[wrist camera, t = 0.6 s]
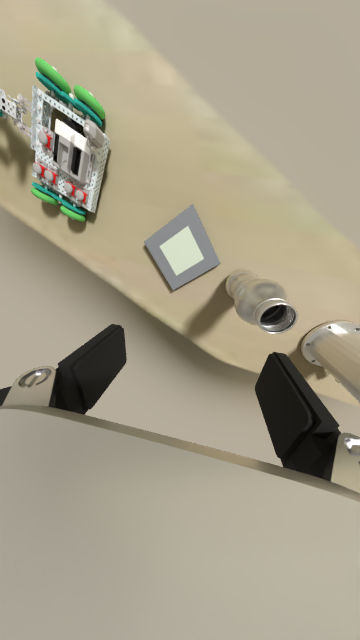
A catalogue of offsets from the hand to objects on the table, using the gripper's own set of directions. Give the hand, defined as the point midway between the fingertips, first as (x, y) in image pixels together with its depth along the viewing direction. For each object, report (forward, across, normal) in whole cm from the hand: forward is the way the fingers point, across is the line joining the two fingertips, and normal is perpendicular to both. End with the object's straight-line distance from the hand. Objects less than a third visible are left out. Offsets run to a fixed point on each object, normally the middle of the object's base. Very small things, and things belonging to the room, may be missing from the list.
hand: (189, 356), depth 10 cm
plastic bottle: (+28, -8, -1) cm, 29 cm away
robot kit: (+28, +33, -22) cm, 48 cm away
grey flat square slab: (+28, +6, -6) cm, 29 cm away
